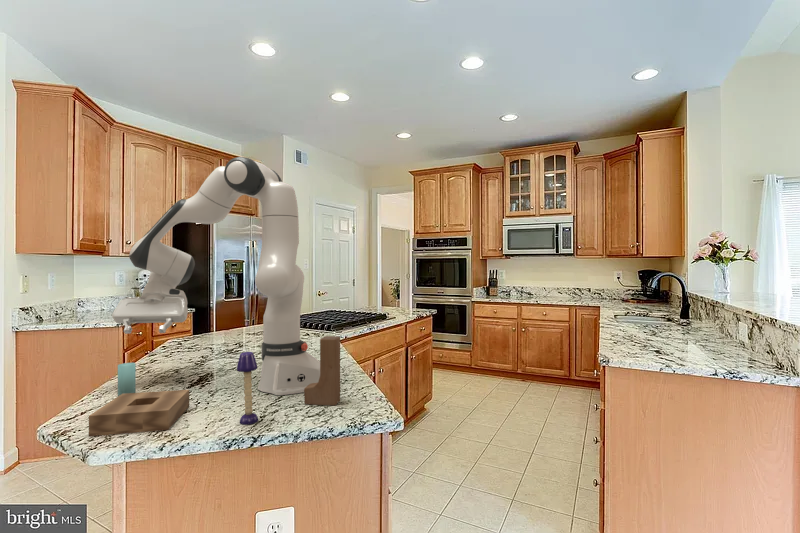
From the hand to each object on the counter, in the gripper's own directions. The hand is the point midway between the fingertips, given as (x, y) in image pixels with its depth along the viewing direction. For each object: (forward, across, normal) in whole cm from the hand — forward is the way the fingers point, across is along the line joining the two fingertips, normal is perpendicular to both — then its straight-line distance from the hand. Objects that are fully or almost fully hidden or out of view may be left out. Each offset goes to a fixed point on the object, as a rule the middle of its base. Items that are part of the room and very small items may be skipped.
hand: (144, 332), depth 121 cm
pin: (+21, 0, +4) cm, 22 cm away
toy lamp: (+35, +34, -11) cm, 51 cm away
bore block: (+30, +10, -6) cm, 32 cm away
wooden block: (+28, +52, -4) cm, 60 cm away
